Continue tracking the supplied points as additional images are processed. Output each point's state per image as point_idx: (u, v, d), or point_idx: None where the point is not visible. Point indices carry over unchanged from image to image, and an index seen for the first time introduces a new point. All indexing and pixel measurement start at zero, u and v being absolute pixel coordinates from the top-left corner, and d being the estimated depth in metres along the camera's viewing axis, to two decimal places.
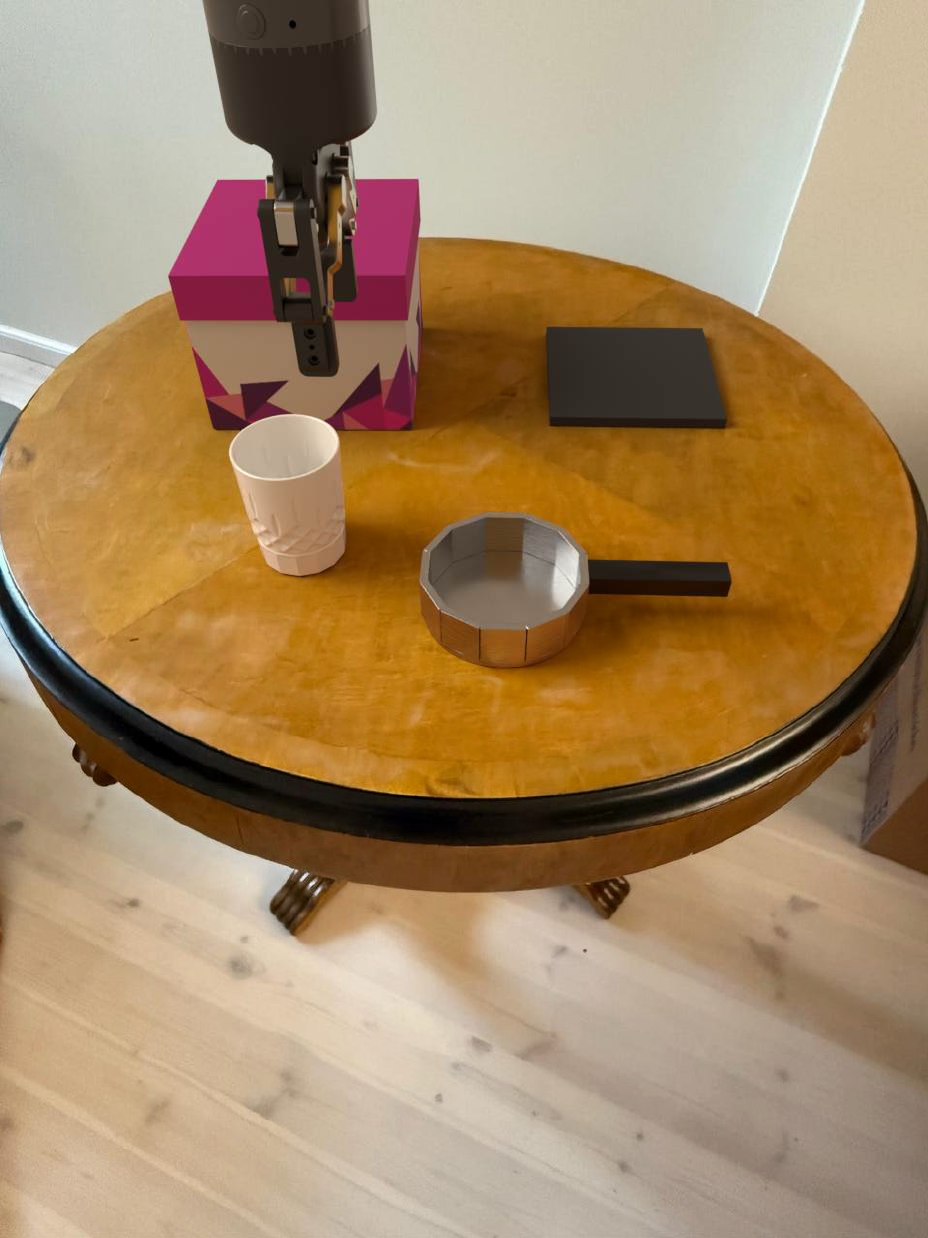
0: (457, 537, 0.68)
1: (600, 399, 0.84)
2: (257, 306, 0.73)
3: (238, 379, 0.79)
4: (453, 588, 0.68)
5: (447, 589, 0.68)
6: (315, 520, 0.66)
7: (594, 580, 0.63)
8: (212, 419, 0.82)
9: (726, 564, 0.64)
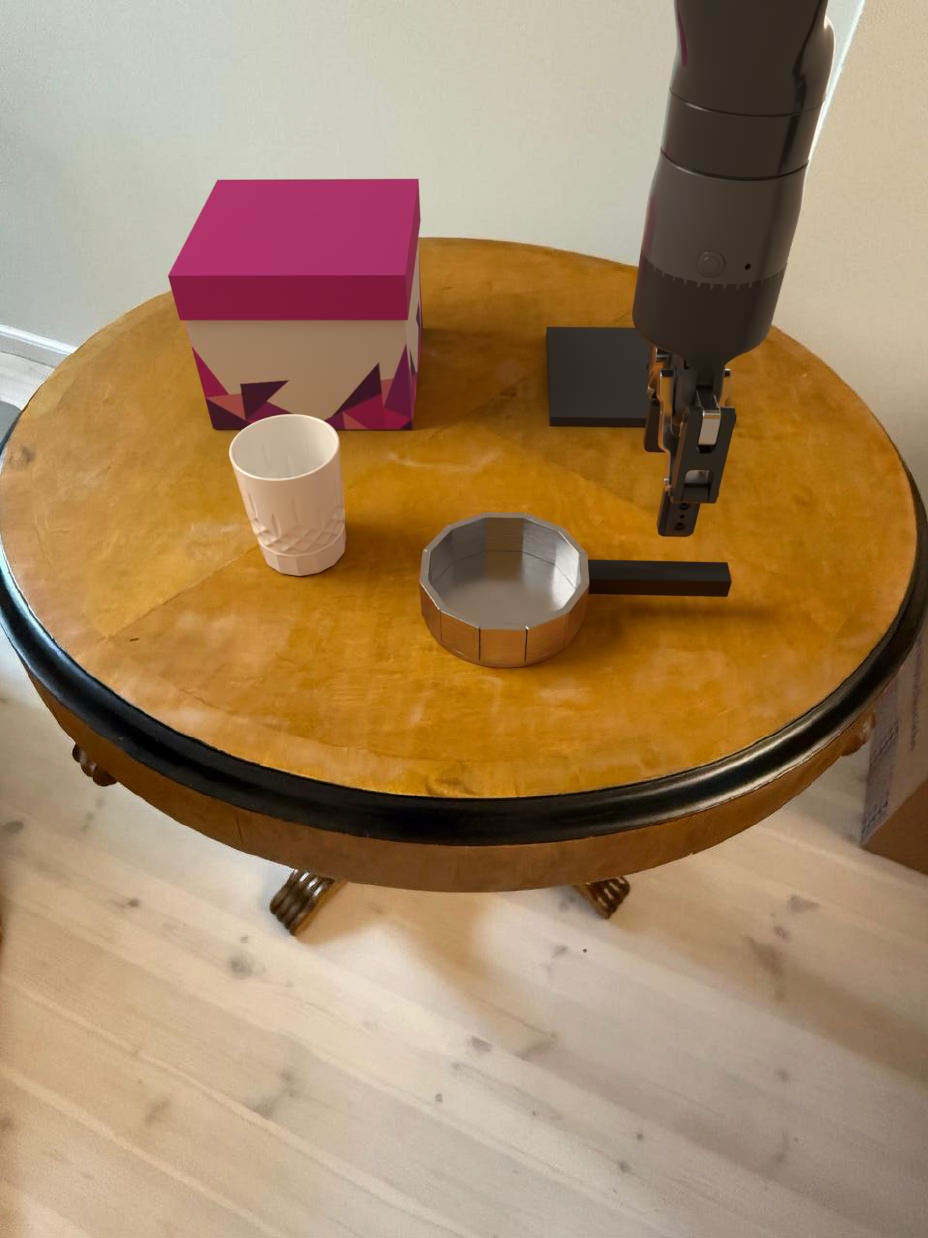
0: (457, 537, 0.68)
1: (600, 399, 0.84)
2: (257, 306, 0.73)
3: (238, 379, 0.79)
4: (453, 588, 0.68)
5: (447, 589, 0.68)
6: (315, 520, 0.66)
7: (594, 580, 0.63)
8: (212, 419, 0.82)
9: (726, 564, 0.64)
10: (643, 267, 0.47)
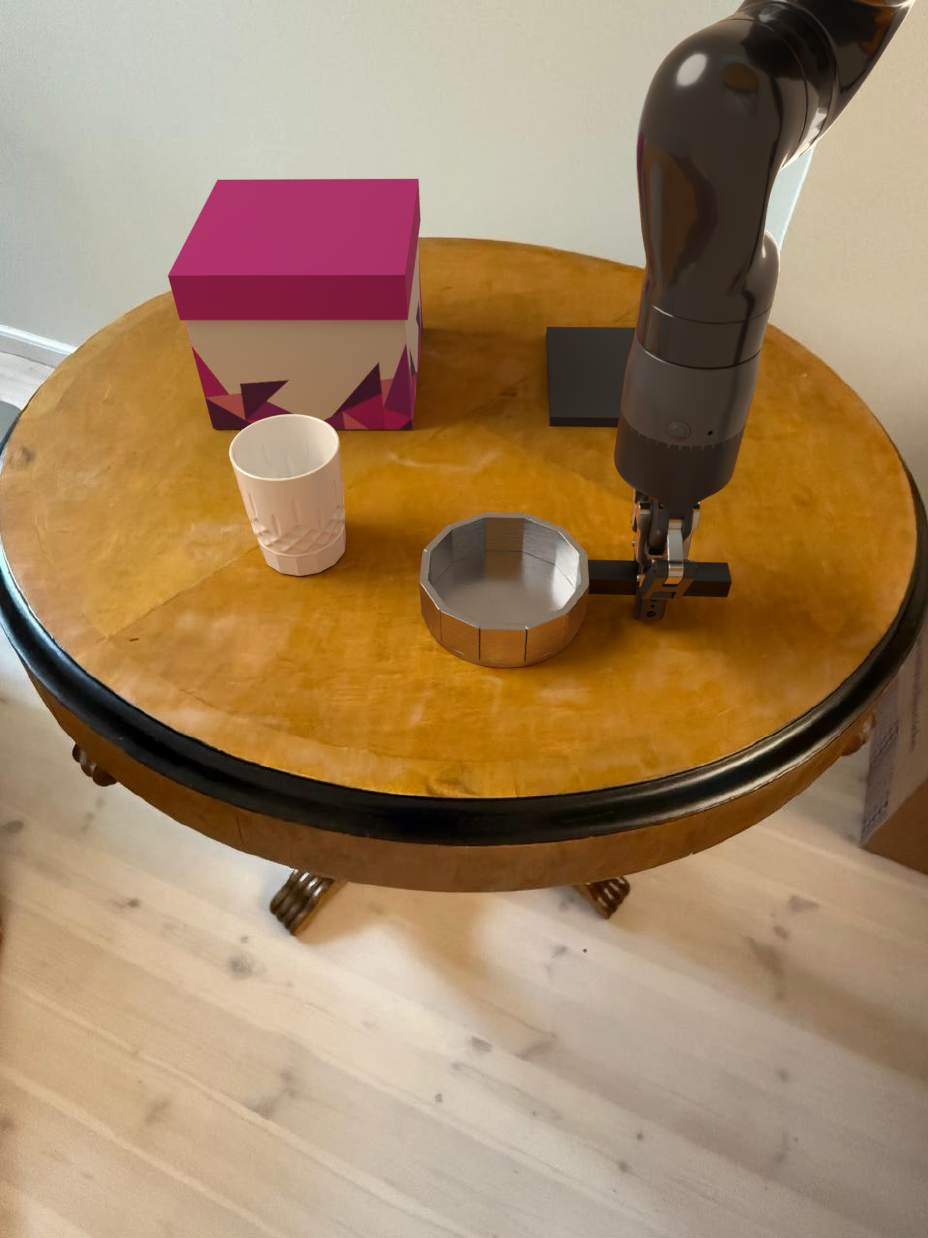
0: (457, 537, 0.68)
1: (600, 399, 0.84)
2: (257, 306, 0.73)
3: (238, 379, 0.79)
4: (453, 588, 0.68)
5: (447, 589, 0.68)
6: (315, 520, 0.66)
7: (594, 580, 0.63)
8: (212, 419, 0.82)
9: (726, 564, 0.64)
10: (622, 424, 0.54)
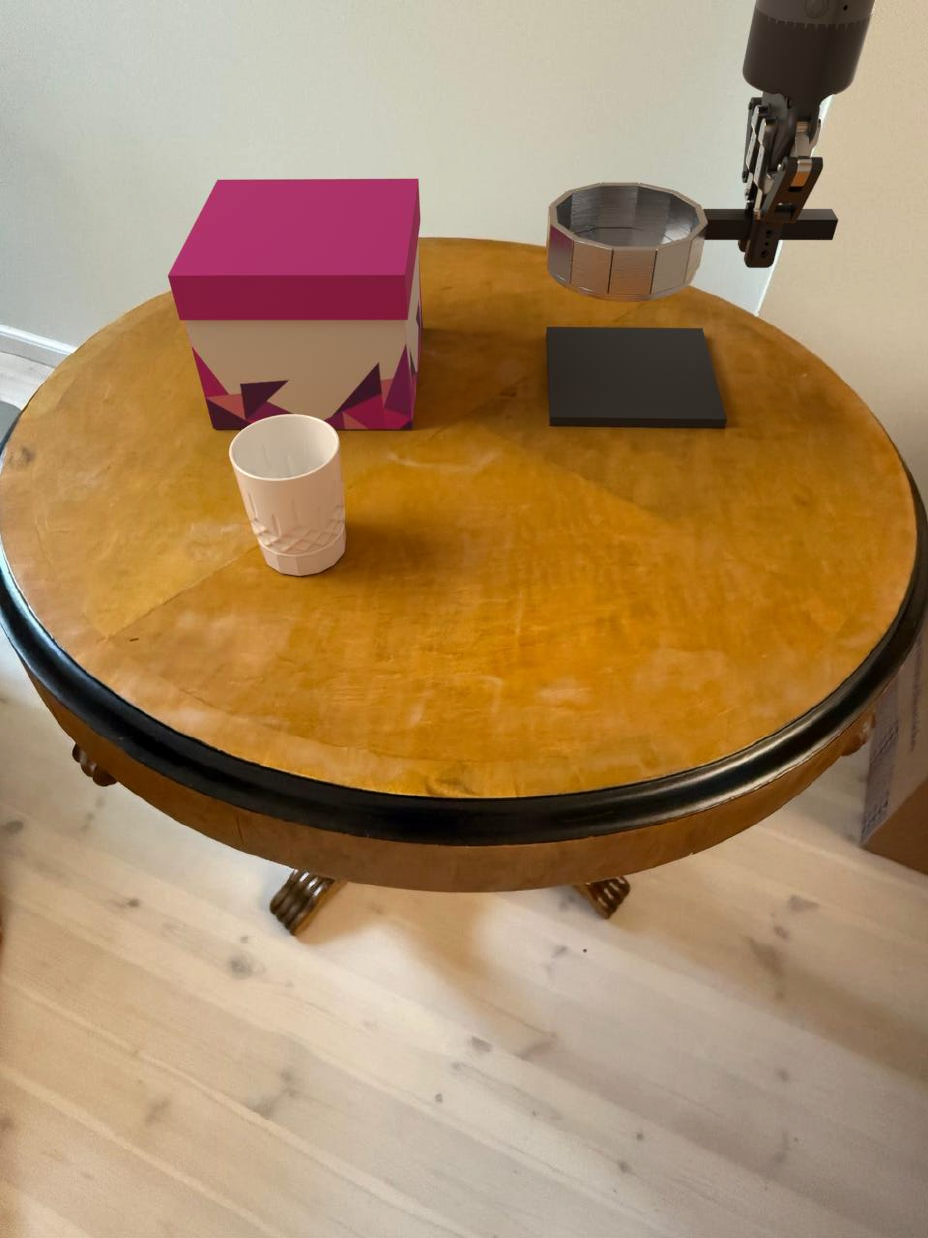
0: (576, 204, 0.73)
1: (600, 399, 0.84)
2: (257, 306, 0.73)
3: (238, 379, 0.79)
4: None
5: None
6: (315, 520, 0.66)
7: (711, 222, 0.69)
8: (212, 419, 0.82)
9: (831, 209, 0.69)
10: (757, 22, 0.59)
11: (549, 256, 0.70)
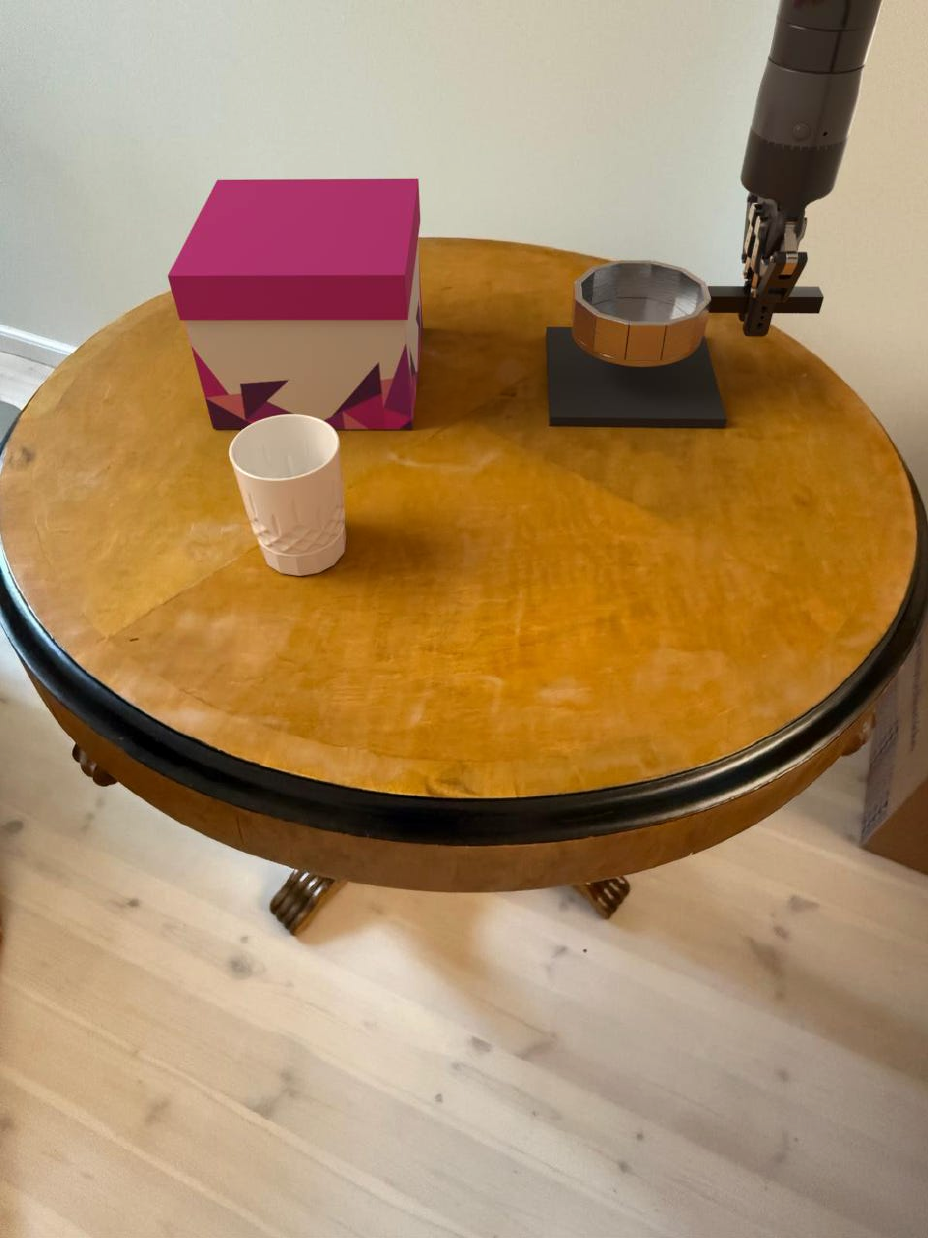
0: (598, 279, 0.85)
1: (600, 399, 0.84)
2: (257, 306, 0.73)
3: (238, 379, 0.79)
4: None
5: None
6: (315, 520, 0.66)
7: (714, 298, 0.80)
8: (212, 419, 0.82)
9: (818, 287, 0.81)
10: (752, 140, 0.71)
11: (574, 326, 0.82)
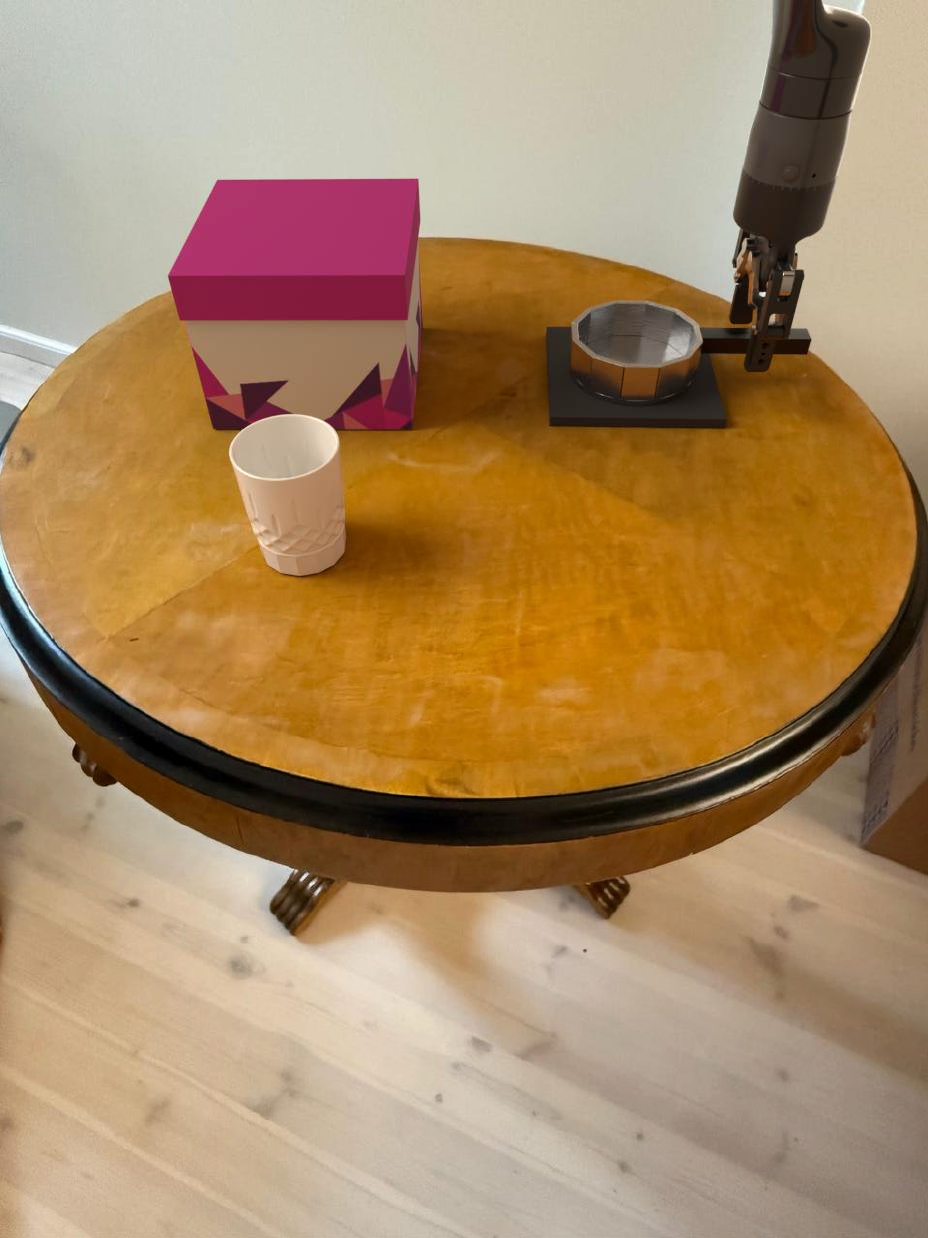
0: (594, 318, 0.88)
1: None
2: (257, 306, 0.73)
3: (238, 379, 0.79)
4: None
5: None
6: (315, 520, 0.66)
7: (706, 340, 0.83)
8: (212, 419, 0.82)
9: (806, 329, 0.84)
10: (744, 180, 0.73)
11: (571, 365, 0.85)
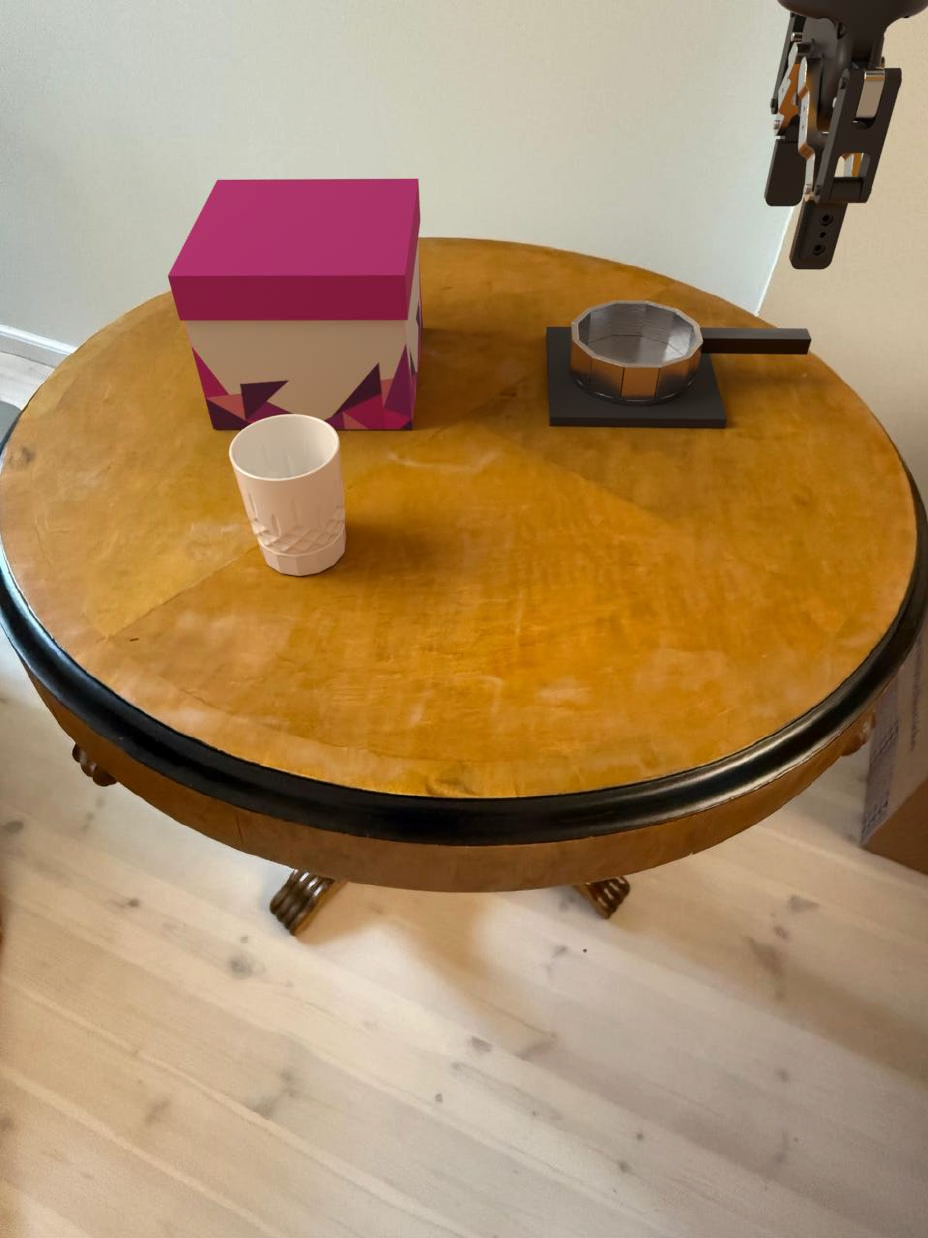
0: (594, 318, 0.88)
1: None
2: (257, 306, 0.73)
3: (238, 379, 0.79)
4: None
5: None
6: (315, 520, 0.66)
7: (706, 340, 0.83)
8: (212, 419, 0.82)
9: (806, 329, 0.84)
10: None
11: (571, 365, 0.85)
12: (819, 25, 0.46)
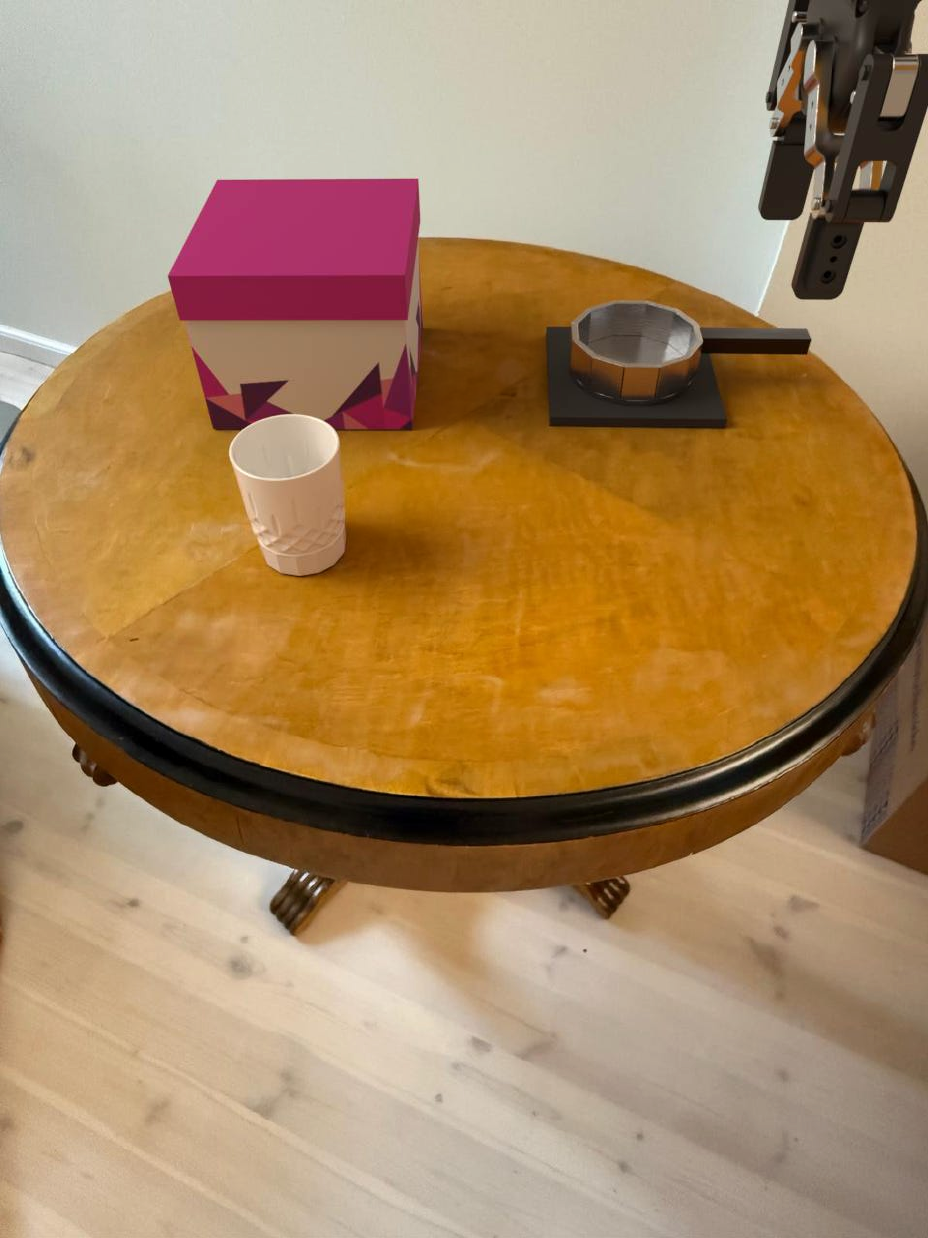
0: (594, 318, 0.88)
1: None
2: (257, 306, 0.73)
3: (238, 379, 0.79)
4: None
5: None
6: (315, 520, 0.66)
7: (706, 340, 0.83)
8: (212, 419, 0.82)
9: (806, 329, 0.84)
10: None
11: (571, 365, 0.85)
12: (830, 1, 0.37)
